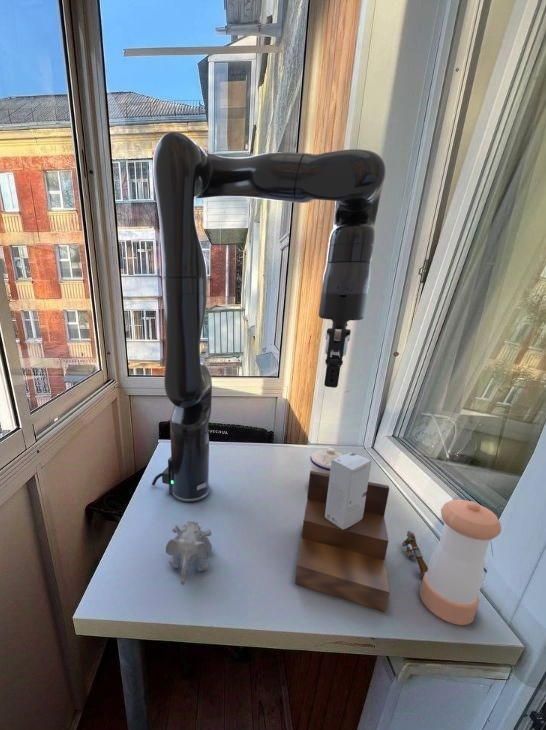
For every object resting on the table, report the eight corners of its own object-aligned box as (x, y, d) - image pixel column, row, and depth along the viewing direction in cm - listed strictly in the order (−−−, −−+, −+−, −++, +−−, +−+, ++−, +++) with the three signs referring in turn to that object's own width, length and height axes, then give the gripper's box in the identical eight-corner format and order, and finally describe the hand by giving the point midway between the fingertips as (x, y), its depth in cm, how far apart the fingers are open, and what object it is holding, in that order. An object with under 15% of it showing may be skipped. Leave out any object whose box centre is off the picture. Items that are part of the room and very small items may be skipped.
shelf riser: (295, 583, 58) (302, 515, 54) (304, 528, 71) (310, 470, 67) (385, 612, 53) (401, 539, 49) (377, 546, 66) (388, 485, 62)
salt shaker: (431, 577, 59) (455, 483, 53) (481, 609, 53) (515, 507, 47) (411, 598, 55) (434, 499, 49) (463, 634, 49) (496, 527, 44)
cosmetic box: (344, 531, 59) (353, 470, 55) (322, 517, 62) (330, 459, 59) (364, 518, 62) (374, 460, 58) (342, 505, 66) (350, 450, 62)
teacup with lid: (314, 502, 80) (319, 458, 76) (302, 480, 88) (306, 441, 85) (363, 500, 80) (371, 457, 77) (346, 479, 89) (352, 440, 85)
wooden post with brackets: (406, 539, 66) (415, 528, 63) (424, 583, 60) (435, 573, 57) (396, 539, 67) (405, 528, 64) (414, 583, 61) (424, 573, 58)
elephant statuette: (208, 541, 67) (208, 509, 65) (224, 592, 56) (225, 555, 54) (162, 548, 66) (161, 516, 63) (170, 602, 54) (168, 565, 52)
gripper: (324, 290, 65) (314, 370, 70) (318, 291, 53) (306, 388, 58) (366, 291, 62) (353, 374, 67) (370, 291, 50) (354, 394, 55)
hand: (331, 380), depth 62 cm, fingers open, 8 cm apart
